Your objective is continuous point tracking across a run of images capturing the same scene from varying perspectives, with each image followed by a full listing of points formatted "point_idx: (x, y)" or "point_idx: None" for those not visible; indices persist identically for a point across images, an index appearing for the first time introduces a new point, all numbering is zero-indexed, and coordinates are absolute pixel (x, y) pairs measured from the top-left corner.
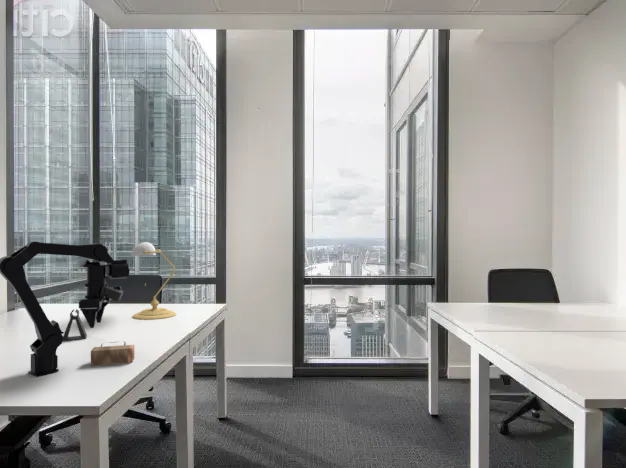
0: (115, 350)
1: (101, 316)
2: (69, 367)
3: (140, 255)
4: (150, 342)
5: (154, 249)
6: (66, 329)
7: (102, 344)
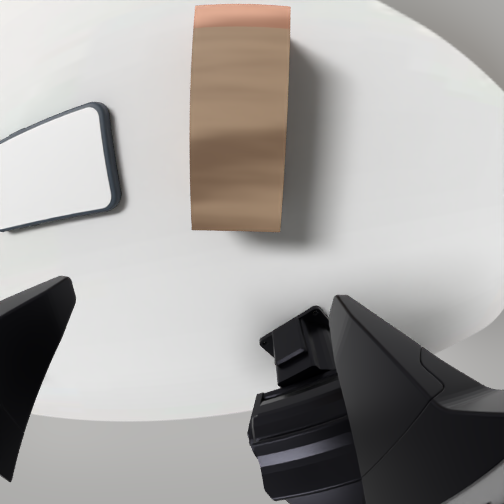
0: (286, 95)
1: (33, 302)
2: (271, 282)
3: None
4: None
5: None
6: None
7: (7, 227)
